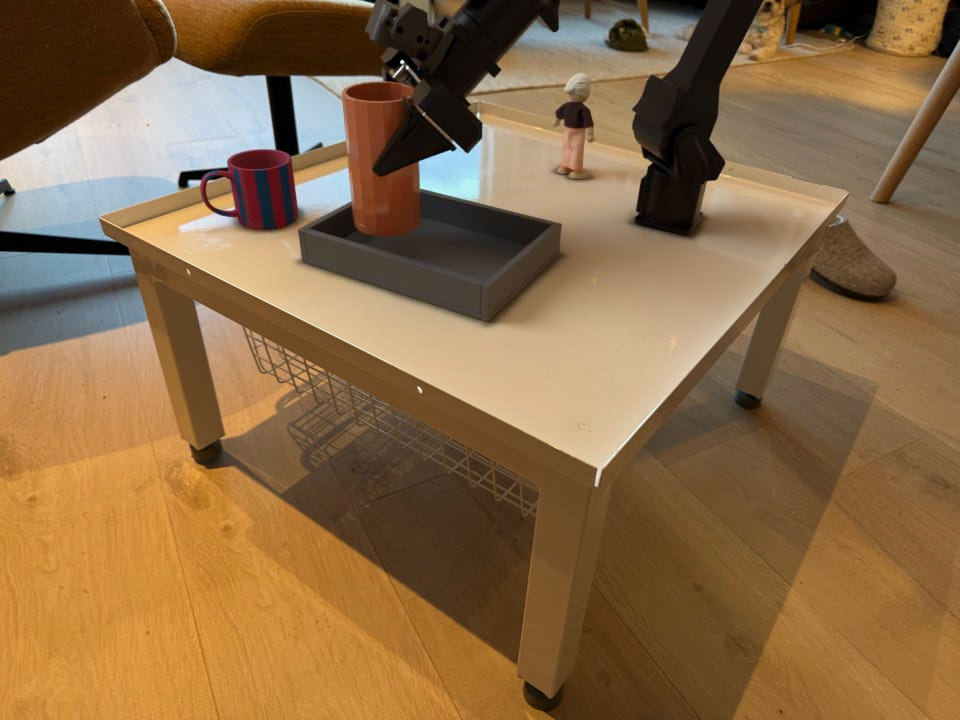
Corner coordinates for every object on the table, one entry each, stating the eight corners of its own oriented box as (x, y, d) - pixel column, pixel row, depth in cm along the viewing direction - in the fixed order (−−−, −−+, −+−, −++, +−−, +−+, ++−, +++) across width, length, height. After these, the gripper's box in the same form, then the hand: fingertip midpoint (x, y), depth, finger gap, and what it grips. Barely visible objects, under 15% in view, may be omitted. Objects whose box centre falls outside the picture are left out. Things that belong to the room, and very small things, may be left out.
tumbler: (408, 204, 75) (403, 78, 67) (429, 230, 70) (427, 98, 62) (347, 213, 73) (334, 84, 65) (364, 241, 68) (352, 105, 60)
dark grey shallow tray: (559, 255, 74) (562, 223, 71) (487, 322, 62) (489, 287, 60) (391, 209, 82) (389, 180, 80) (301, 261, 71) (297, 229, 69)
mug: (305, 224, 78) (298, 165, 74) (213, 240, 74) (200, 178, 70) (290, 202, 83) (282, 145, 79) (202, 216, 79) (189, 157, 75)
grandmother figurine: (601, 176, 93) (615, 76, 85) (584, 184, 90) (596, 81, 83) (556, 161, 97) (565, 65, 90) (538, 168, 95) (546, 69, 87)
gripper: (397, -50, 66) (294, 77, 70) (445, -24, 52) (311, 135, 55) (475, 37, 73) (377, 149, 76) (537, 82, 58) (412, 218, 62)
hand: (369, 160), depth 67 cm, fingers closed on tumbler, 7 cm apart
